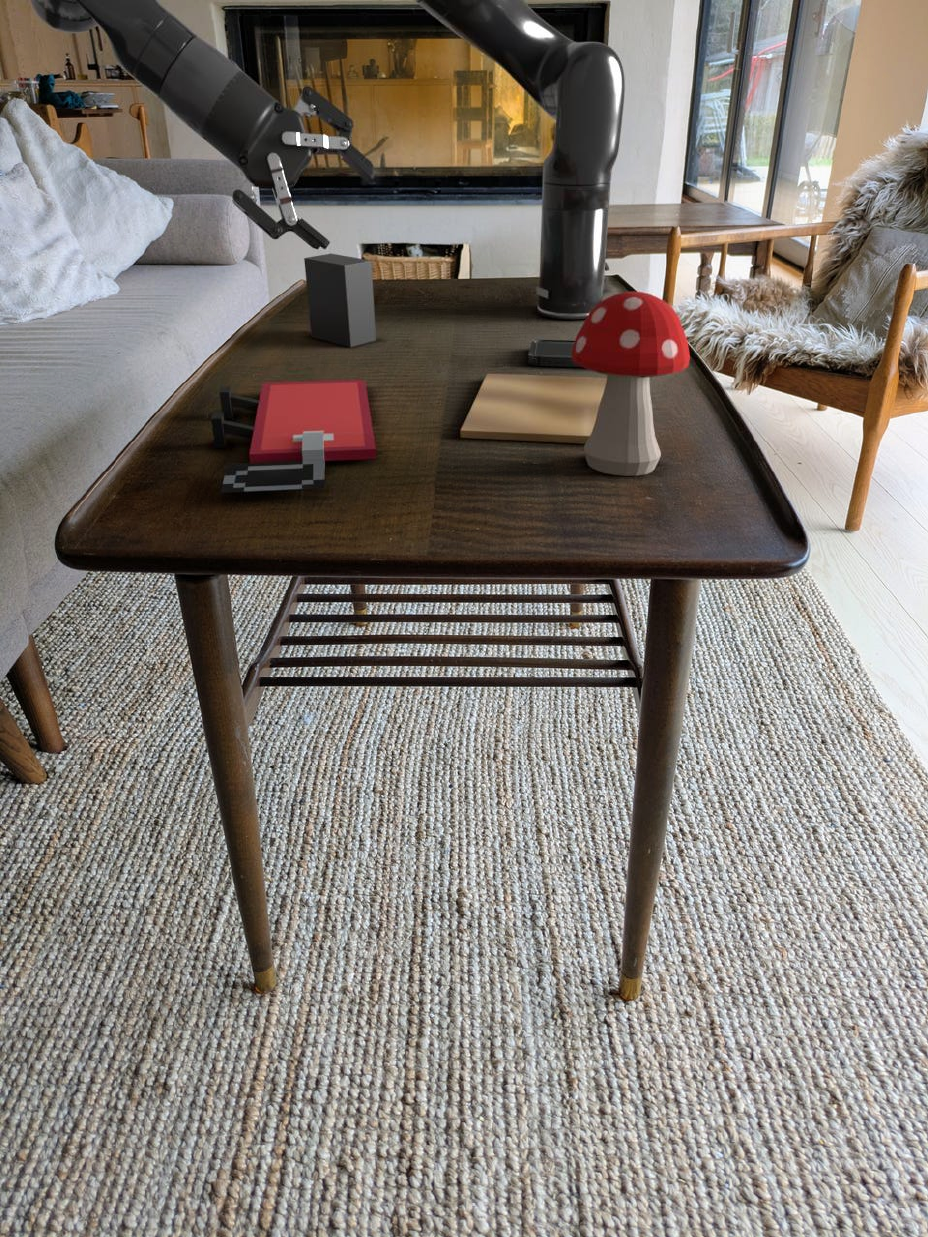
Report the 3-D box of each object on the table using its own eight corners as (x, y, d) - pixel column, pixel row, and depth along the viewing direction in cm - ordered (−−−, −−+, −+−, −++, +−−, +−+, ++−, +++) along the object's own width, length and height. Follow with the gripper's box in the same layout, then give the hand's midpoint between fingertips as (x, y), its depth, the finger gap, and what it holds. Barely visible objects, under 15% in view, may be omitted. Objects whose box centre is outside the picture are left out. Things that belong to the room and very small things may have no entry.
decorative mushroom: (554, 475, 79) (562, 299, 72) (578, 442, 86) (588, 278, 78) (668, 490, 76) (689, 307, 69) (683, 454, 83) (704, 285, 76)
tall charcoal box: (311, 336, 121) (303, 257, 116) (338, 330, 124) (331, 253, 119) (350, 347, 116) (344, 265, 111) (377, 340, 119) (372, 260, 114)
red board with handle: (198, 504, 74) (381, 495, 76) (193, 471, 73) (380, 463, 75) (229, 396, 100) (365, 391, 102) (226, 371, 98) (364, 366, 100)
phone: (532, 339, 114) (653, 342, 112) (532, 348, 115) (652, 351, 113) (527, 356, 108) (655, 359, 106) (527, 365, 108) (654, 369, 106)
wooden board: (487, 380, 104) (487, 373, 103) (636, 385, 101) (637, 378, 101) (460, 437, 88) (460, 430, 87) (637, 446, 85) (638, 438, 85)
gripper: (257, 53, 94) (382, 164, 99) (179, 169, 94) (308, 272, 100) (260, 27, 87) (395, 148, 92) (177, 152, 87) (315, 264, 93)
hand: (350, 212), depth 96 cm, fingers open, 8 cm apart
